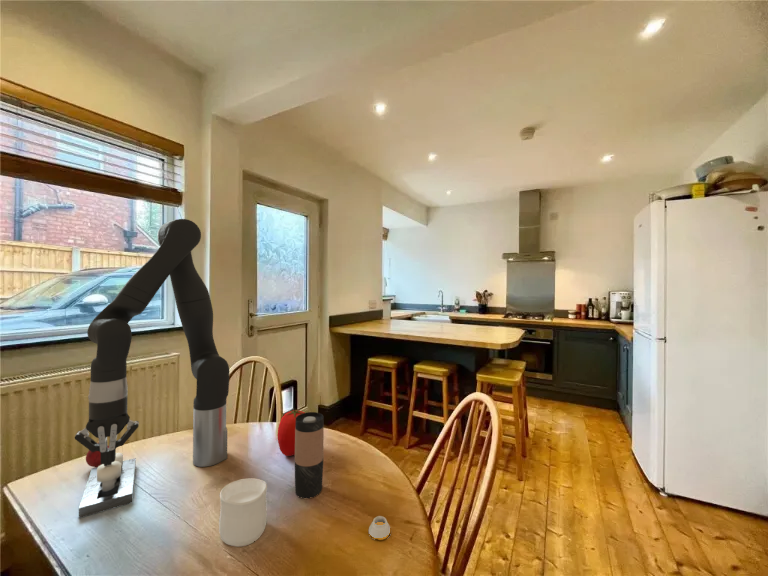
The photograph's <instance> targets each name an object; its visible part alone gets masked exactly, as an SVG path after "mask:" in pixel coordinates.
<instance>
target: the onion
mask: <svg viewBox="0 0 768 576" xmlns="http://www.w3.org/2000/svg"><path fill="white" fill-rule="evenodd" d="M96 442H97V443H98V444H99V440H98V441H96ZM108 448H109V445H108ZM85 463H86V464H87V465H88V466H90V467H92V468H96V467H99V466H100V465H102V464H101V453H100V452H99V451H95V452H91V451H90V450H89V449H88V451H87V453H86V455H85Z"/></svg>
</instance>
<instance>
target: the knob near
mask: <svg viewBox="0 0 768 576" xmlns="http://www.w3.org/2000/svg"><path fill="white" fill-rule="evenodd" d="M119 474H120V462H118V461H114V462H112V464H111V465H108V466H104V464H102V465H100V466H99V467H98V468H97V481H98V482H102V491H109V490H111V489H113V488H114V480H115V478H116V477H117V476H119Z"/></svg>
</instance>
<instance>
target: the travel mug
mask: <svg viewBox="0 0 768 576" xmlns="http://www.w3.org/2000/svg"><path fill="white" fill-rule="evenodd" d="M324 417H325V416H324V415H323V414H322V413H320V412H315V411H310V412H309V411H307V412H305V413H303V414H300V415H298V416H297V417H296V423H295V455H294V490H295V491H294V492H295V495H296V496H297V497H298V496H299V497H298V498H300V497H302V498H301V499H304V498H308V499H311V498H310V497H313V498H315V497H317V496H318V495H320V494H321V492H322V489H323V474H324V473H323V472H324V439H325V438H324V422H325V421H324ZM319 493H320V494H319ZM317 494H318V495H317ZM316 495H317V496H316ZM314 496H315V497H314Z"/></svg>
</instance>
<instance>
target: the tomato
mask: <svg viewBox="0 0 768 576" xmlns="http://www.w3.org/2000/svg"><path fill="white" fill-rule="evenodd" d="M303 413H306V412H305V411H302V409H301V408H300V409H293V410H288V411H287V412H286V413H284V415H283V416H282V417H281V419H280V422H279V425H278V428H277V435H276V436H277V443H278V448H279V450H280V452H281V454H282V455H284V456H286V457H290V456H295V423H296V417H297V416H298V415H300V414H303Z"/></svg>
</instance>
